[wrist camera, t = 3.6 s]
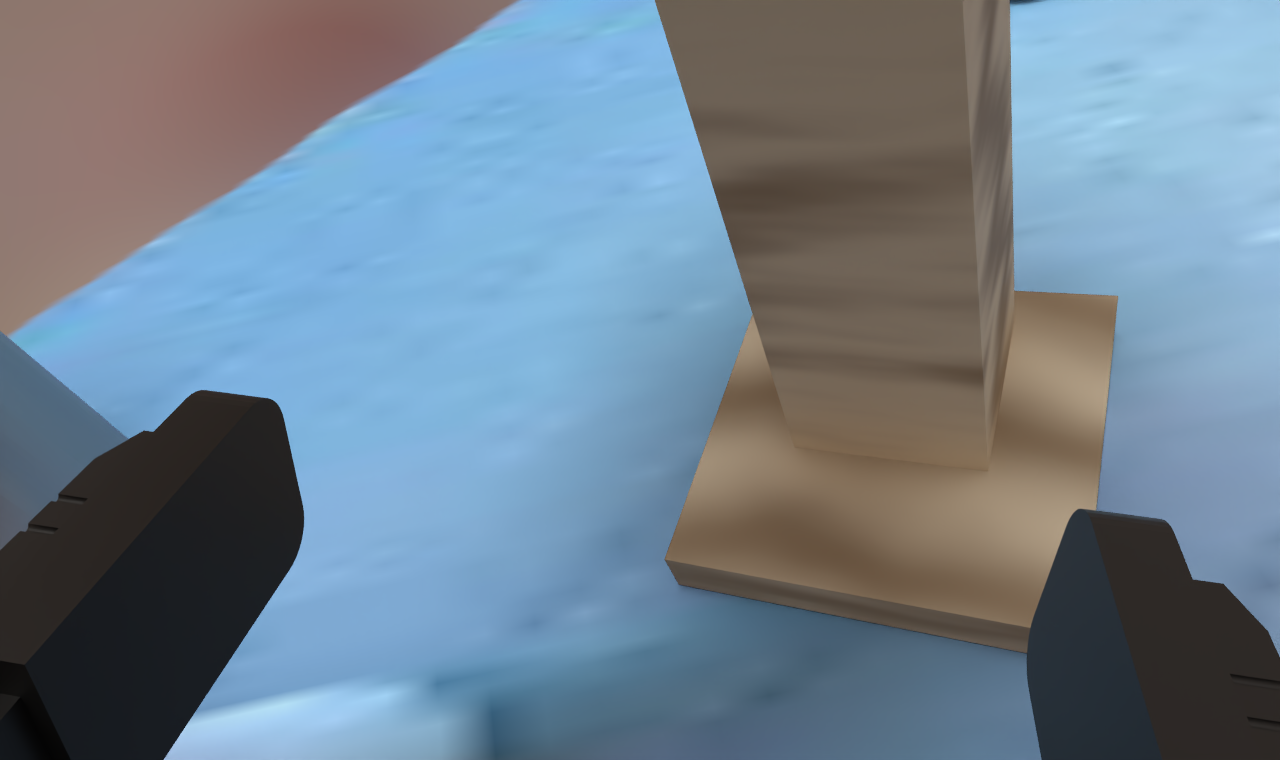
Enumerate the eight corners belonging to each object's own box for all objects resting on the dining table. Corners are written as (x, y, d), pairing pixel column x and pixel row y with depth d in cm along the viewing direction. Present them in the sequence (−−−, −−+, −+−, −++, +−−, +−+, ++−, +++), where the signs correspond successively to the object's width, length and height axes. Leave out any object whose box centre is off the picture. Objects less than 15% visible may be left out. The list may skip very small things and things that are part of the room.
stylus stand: (1074, 724, 30) (1293, -1501, 5) (662, 632, 36) (-149, -612, 11) (1118, 292, 40) (1273, -1248, 15) (785, 276, 46) (491, -835, 21)
